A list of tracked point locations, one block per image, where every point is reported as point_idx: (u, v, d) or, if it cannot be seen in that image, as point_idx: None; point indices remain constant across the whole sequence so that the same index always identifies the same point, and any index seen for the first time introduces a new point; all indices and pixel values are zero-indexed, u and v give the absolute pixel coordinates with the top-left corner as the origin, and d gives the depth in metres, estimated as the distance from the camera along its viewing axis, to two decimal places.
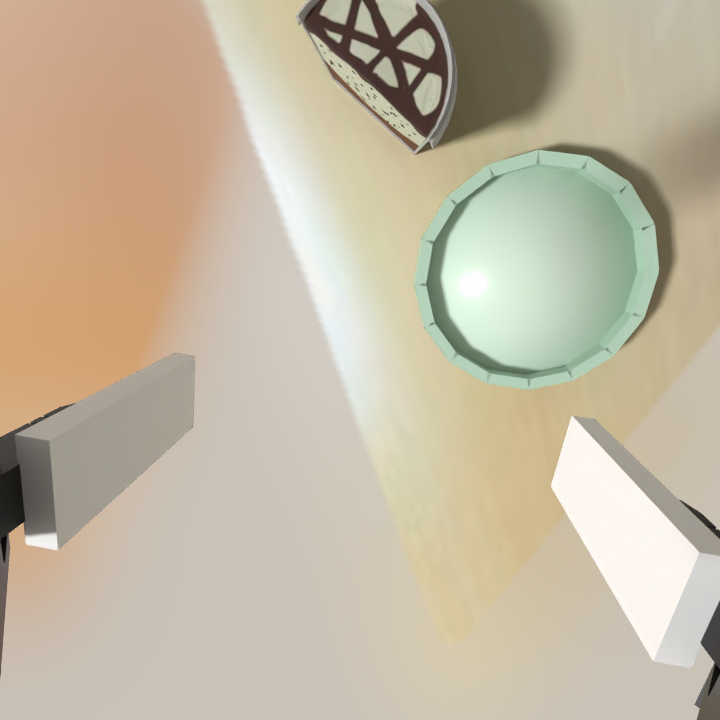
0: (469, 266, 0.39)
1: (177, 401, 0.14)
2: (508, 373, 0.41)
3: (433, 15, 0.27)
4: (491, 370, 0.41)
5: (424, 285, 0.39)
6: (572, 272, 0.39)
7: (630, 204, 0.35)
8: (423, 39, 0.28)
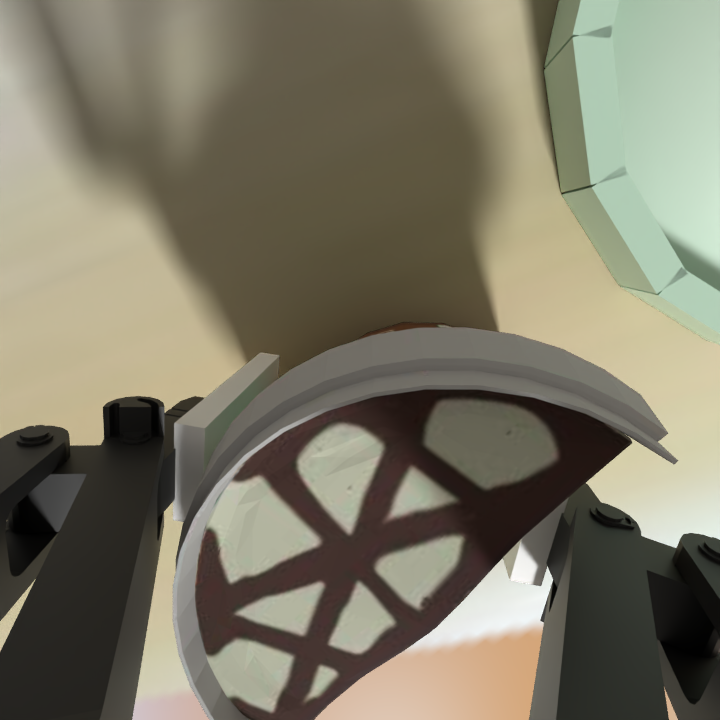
0: None
1: None
2: None
3: None
4: None
5: None
6: None
7: None
8: (327, 458, 0.09)
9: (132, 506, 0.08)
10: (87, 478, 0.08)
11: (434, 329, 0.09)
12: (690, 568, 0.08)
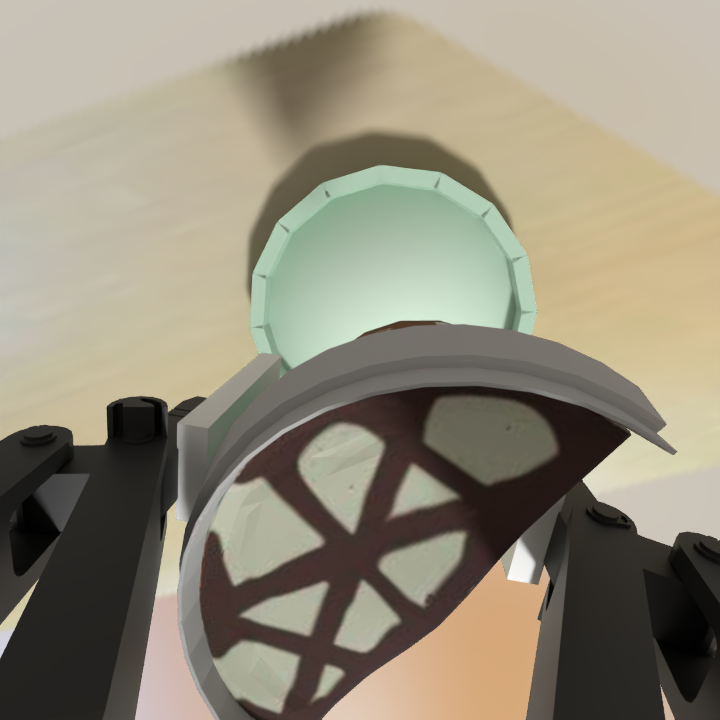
0: None
1: None
2: None
3: None
4: None
5: None
6: (384, 264, 0.32)
7: (301, 217, 0.30)
8: (328, 458, 0.09)
9: (136, 505, 0.08)
10: (91, 478, 0.08)
11: (431, 327, 0.09)
12: (686, 566, 0.08)
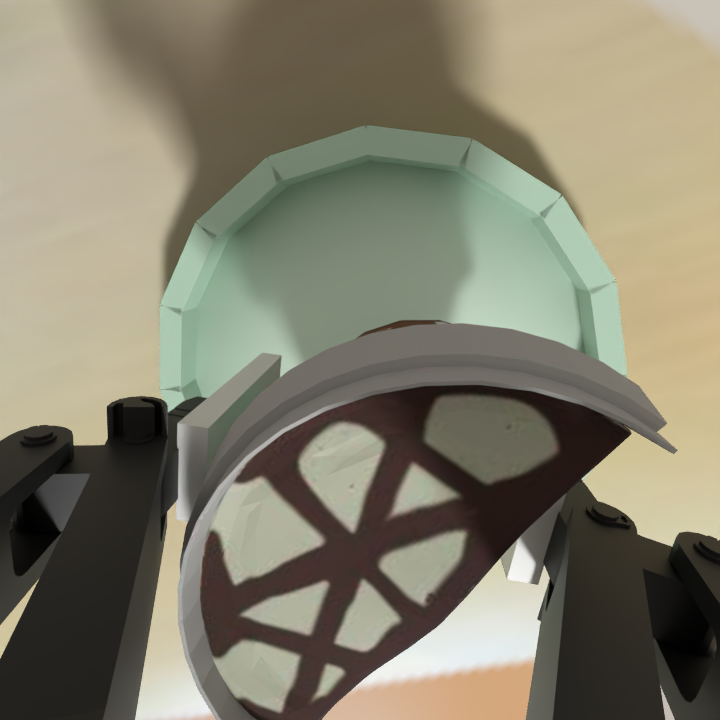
0: None
1: None
2: None
3: None
4: None
5: None
6: (373, 292, 0.20)
7: (234, 214, 0.18)
8: (328, 457, 0.09)
9: (136, 505, 0.08)
10: (91, 478, 0.08)
11: (432, 326, 0.09)
12: (686, 566, 0.08)
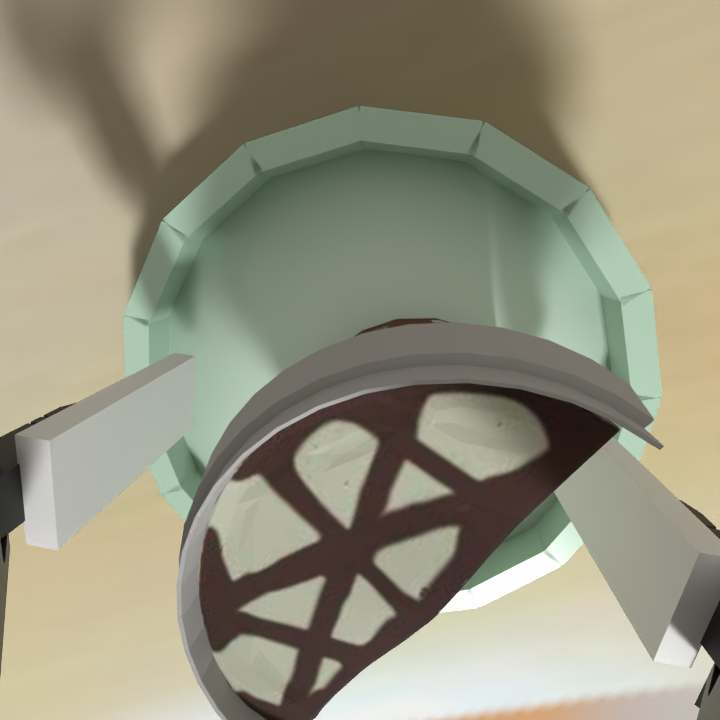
0: None
1: (177, 401, 0.14)
2: None
3: None
4: None
5: None
6: (369, 300, 0.17)
7: (206, 211, 0.15)
8: (323, 454, 0.09)
9: None
10: None
11: (424, 325, 0.09)
12: None
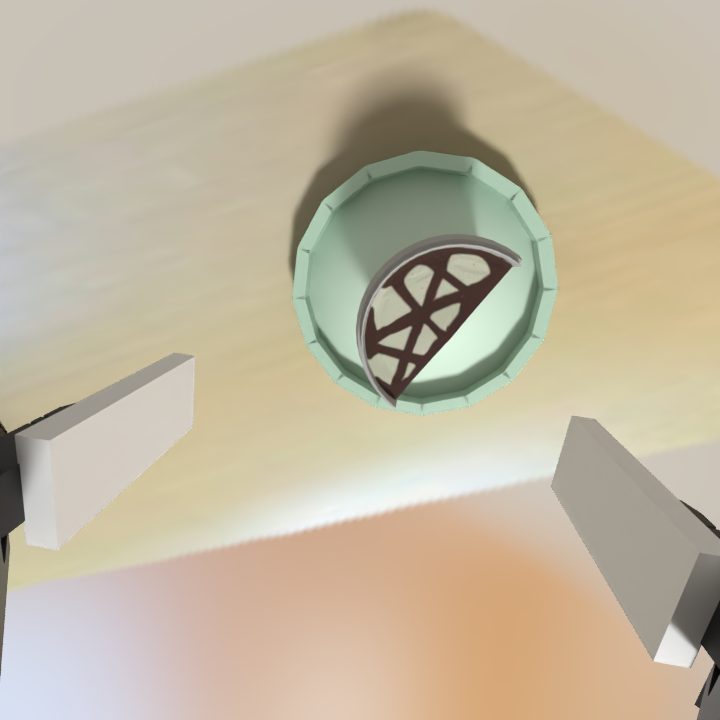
0: None
1: (177, 401, 0.14)
2: (534, 309, 0.34)
3: (396, 269, 0.26)
4: (529, 329, 0.35)
5: (423, 405, 0.36)
6: None
7: (344, 197, 0.33)
8: (414, 277, 0.26)
9: None
10: None
11: (449, 234, 0.26)
12: None
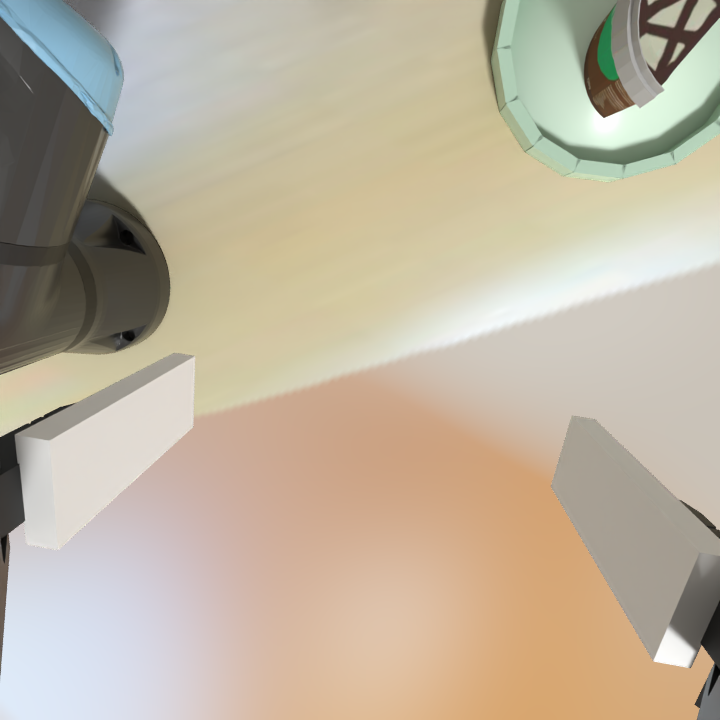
0: None
1: (177, 401, 0.14)
2: None
3: None
4: None
5: (625, 166, 0.35)
6: None
7: None
8: None
9: None
10: None
11: None
12: None
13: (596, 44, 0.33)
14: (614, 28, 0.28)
